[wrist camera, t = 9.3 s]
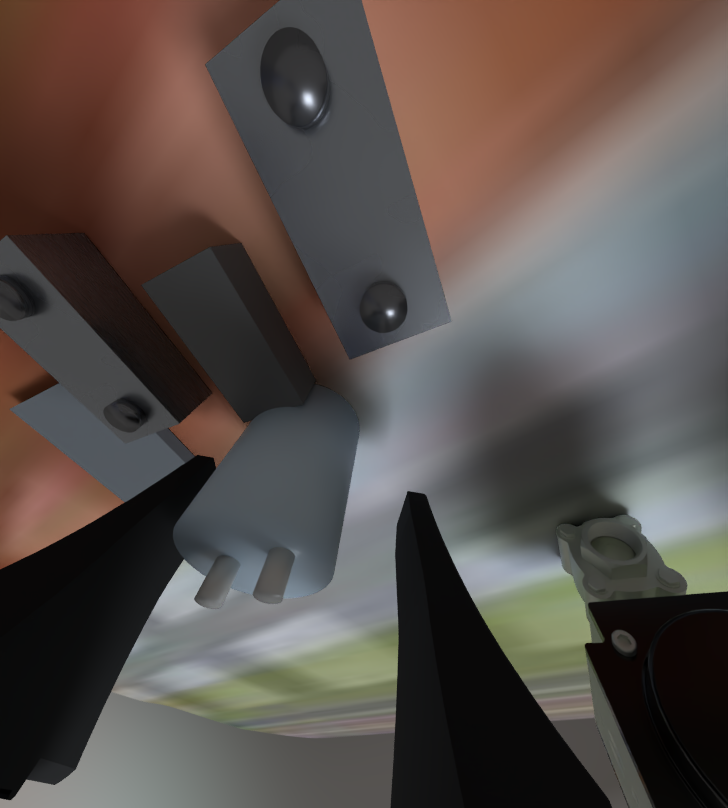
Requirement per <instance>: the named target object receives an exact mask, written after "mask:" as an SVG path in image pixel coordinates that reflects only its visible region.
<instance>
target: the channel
mask: <svg viewBox="0 0 728 808" xmlns="http://www.w3.org/2000/svg"><path fill="white" fill-rule="evenodd" d="M205 65H206V67H207V69H208V71H209V73H210V75H211V78H212V80H213V82H214V84H215V86H216V88H217V90H218V92H219V94H220V96H221V98H222V100H223V102H224V104H225V106H226V108H227V110H228V112H229V114H230V116H231V118H232V120H233V122H234V124H235V126H236V128H237V131H238V133H239V135H240V137H241V139H242V141H243V143H244V145H245V147H246V149H247V151H248V153H249V155H250V157H251V159H252V161H253V163H254V165H255V167H256V169H257V171H258V173H259V175H260V177H261V179H262V181H263V184H264V186H265V188H266V190H267V192H268V194H269V196H270V198H271V200H272V202H273V204H274V206H275V208H276V210H277V212H278V214H279V216H280V218H281V220H282V222H283V224H284V226H285V228H286V230H287V232H288V235H289V237H290V239H291V241H292V243H293V245H294V247H295V249H296V251H297V253H298V255H299V257H300V259H301V261H302V263H303V265H304V267H305V269H306V271H307V273H308V275H309V277H310V279H311V281H312V283H313V285H314V288H315V290H316V292H317V294H318V296H319V298H320V300H321V302H322V304H323V306H324V308H325V310H326V312H327V314H328V316H329V318H330V320H331V322H332V324H333V326H334V328H335V330H336V332H337V334H338V336H339V338H340V341H341V343H342V345H343V347H344V349H345V351H346V353H347V355H348V357H349V359H353V358H355V357H358V356H361V355H363V354H366V353H369V352H371V351H374V350H377V349H379V348H382V347H385V346H387V345H390V344H393V343H395V342H398V341H401V340H403V339H406V338H409V337H411V336H414V335H417V334H419V333H422V332H425V331H427V330H430V329H433V328H435V327H438V326H441V325H443V324H446V323H449V322H451V318H450V314H449V310H448V307H447V303H446V300H445V296H444V293H443V289H442V286H441V282H440V278H439V275H438V271H437V268H436V264H435V261H434V257H433V254H432V250H431V246H430V243H429V239H428V236H427V232H426V229H425V225H424V221H423V218H422V214H421V211H420V207H419V204H418V200H417V197H416V193H415V189H414V186H413V182H412V179H411V175H410V172H409V168H408V164H407V161H406V157H405V154H404V150H403V147H402V143H401V140H400V136H399V132H398V129H397V125H396V122H395V118H394V115H393V111H392V108H391V104H390V100H389V97H388V93H387V90H386V86H385V83H384V79H383V75H382V72H381V68H380V65H379V61H378V58H377V54H376V51H375V47H374V43H373V40H372V36H371V33H370V29H369V26H368V22H367V18H366V15H365V11H364V8H363V4H362V1H361V0H280V1H278V2H277V3H276V4H275V5H274V6H273V7H271V8H270V9H269V10H268V11H267V12H266V13H264V14H263V15H262V16H261V17H260V18H259V19H257V20H256V21H255V22H254V23H253V24H252V25H250V26H249V27H248V28H247V29H246V30H245V31H244V32H242V33H241V34H240V35H239V36H238V37H237V38H235V39H234V40H233V41H232V42H231V43H230V44H228V45H227V46H226V47H225V48H224V49H223V50H221V51H220V52H219V53H218V54H217V55H216V56H214V57H213V58H212V59H211V60H210V61H209V62H207V63H206V64H205ZM0 328H1V329H2V330H3V331H4V332H5V333H6V334H7V335H8V336H9V337H10V338H12V339H13V340H14V341H15V342H16V343H17V344H18V345H19V346H20V347H21V348H22V349H23V350H24V351H26V352H27V353H28V354H29V355H30V356H31V357H32V358H33V359H34V360H35V361H36V362H37V363H39V364H40V365H41V366H42V367H43V368H44V369H45V370H46V371H47V372H48V373H49V374H50V375H51V376H53V377H54V378H55V379H56V380H57V381H58V382H59V383H60V384H61V385H62V386H63V387H64V388H65V389H67V390H68V391H69V392H70V393H71V394H72V395H73V396H74V397H75V398H76V399H77V400H78V401H80V402H81V403H82V404H83V405H84V406H85V407H86V408H87V409H88V410H89V411H90V412H91V413H92V414H94V415H95V416H96V417H97V418H98V419H99V420H100V421H101V422H102V423H103V424H104V425H105V426H106V427H108V428H109V429H110V430H111V431H112V432H113V433H114V434H115V435H116V436H117V437H118V438H119V439H121V440H122V441H123V442H124V443H125V444H126V443H129V442H132V441H134V440H137V439H140V438H142V437H145V436H148V435H150V434H153V433H156V432H158V431H161V430H164V429H166V428H169V427H172V426H174V425H177V424H179V423H181V422H182V421H183V420H184V419H185V418H186V417H187V416H188V415H189V414H190V413H191V412H192V411H194V410H195V409H196V408H197V407H198V406H199V405H200V404H201V403H202V402H203V401H204V400H206V399H207V398H208V397H209V396H210V395H211V394H212V393H211V391H210V390H209V389H208V388H207V386H206V385H205V384H204V383H203V381H202V380H201V379H200V378H199V376H198V375H197V374H196V373H195V371H194V370H193V369H192V368H191V366H190V365H189V364H188V363H187V361H186V360H185V359H184V358H183V356H182V355H181V354H180V352H179V351H178V350H177V349H176V347H175V346H174V345H173V344H172V342H171V341H170V340H169V339H168V337H167V336H166V335H165V334H164V332H163V331H162V330H161V329H160V327H159V326H158V325H157V324H156V322H155V321H154V320H153V319H152V317H151V316H150V315H149V314H148V312H147V311H146V310H145V309H144V307H143V306H142V305H141V304H140V302H139V301H138V300H137V299H136V297H135V296H134V295H133V294H132V292H131V291H130V290H129V289H128V287H127V286H126V285H125V284H124V282H123V281H122V280H121V279H120V277H119V276H118V275H117V273H116V272H115V271H114V270H113V268H112V267H111V266H110V265H109V263H108V262H107V261H106V260H105V258H104V257H103V256H102V255H101V253H100V252H99V251H98V250H97V248H96V247H95V246H94V245H93V243H92V242H91V241H90V240H89V238H88V237H87V236H86V235H85V233H64V234H34V235H7V236H5V237H4V238H3V239H2V240H1V241H0Z"/></svg>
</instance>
